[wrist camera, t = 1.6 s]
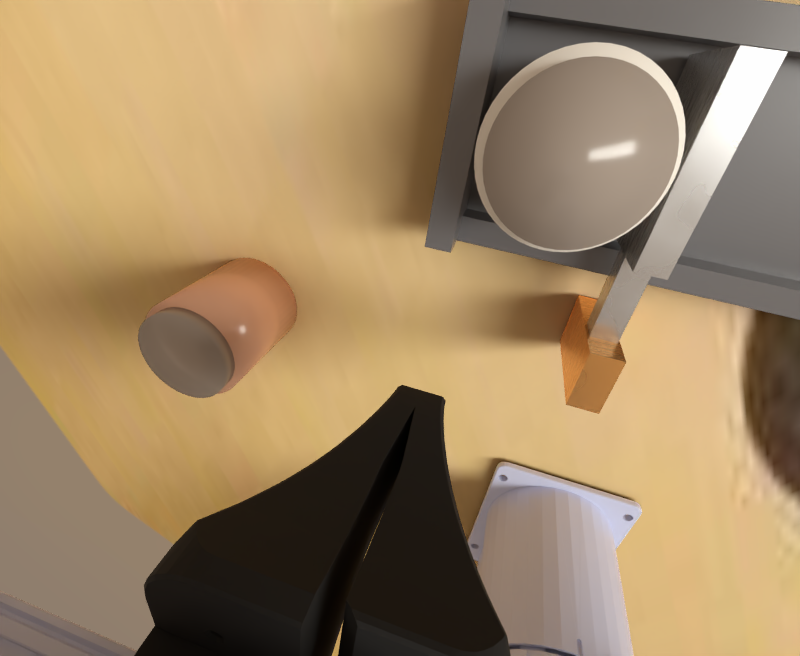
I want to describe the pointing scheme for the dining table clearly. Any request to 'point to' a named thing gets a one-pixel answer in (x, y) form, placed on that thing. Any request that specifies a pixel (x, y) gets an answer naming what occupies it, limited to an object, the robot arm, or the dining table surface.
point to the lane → (669, 48)
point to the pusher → (666, 213)
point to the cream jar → (579, 147)
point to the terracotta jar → (217, 327)
